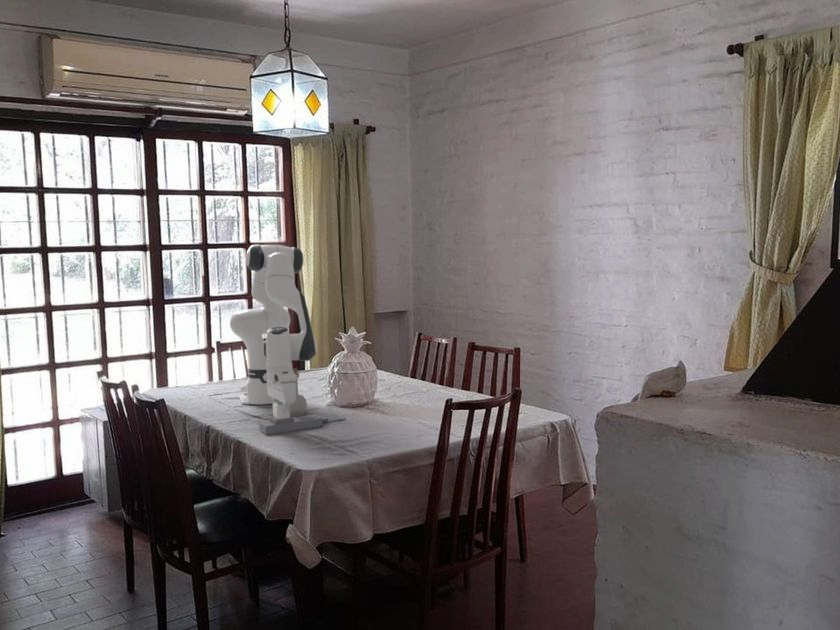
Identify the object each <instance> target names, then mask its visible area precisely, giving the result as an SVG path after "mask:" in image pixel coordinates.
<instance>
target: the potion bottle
mask: <svg viewBox="0 0 840 630" xmlns="http://www.w3.org/2000/svg"><path fill="white" fill-rule="evenodd" d="M292 369H293V371H294V373H295V374H296V377H297V380H296V381H294V382H295V385H296V400H295V403H292V404H290V409H289V414H290V416H291V417H301V416H304V415H306V411H307V407H308V402H307V400H306V398H305V397H304V395H302V394H299V383H298V382H299V381H298V379H299V377H300V373H299V372H298V368H294V367H293V368H292ZM303 414H304V415H303Z"/></svg>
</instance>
